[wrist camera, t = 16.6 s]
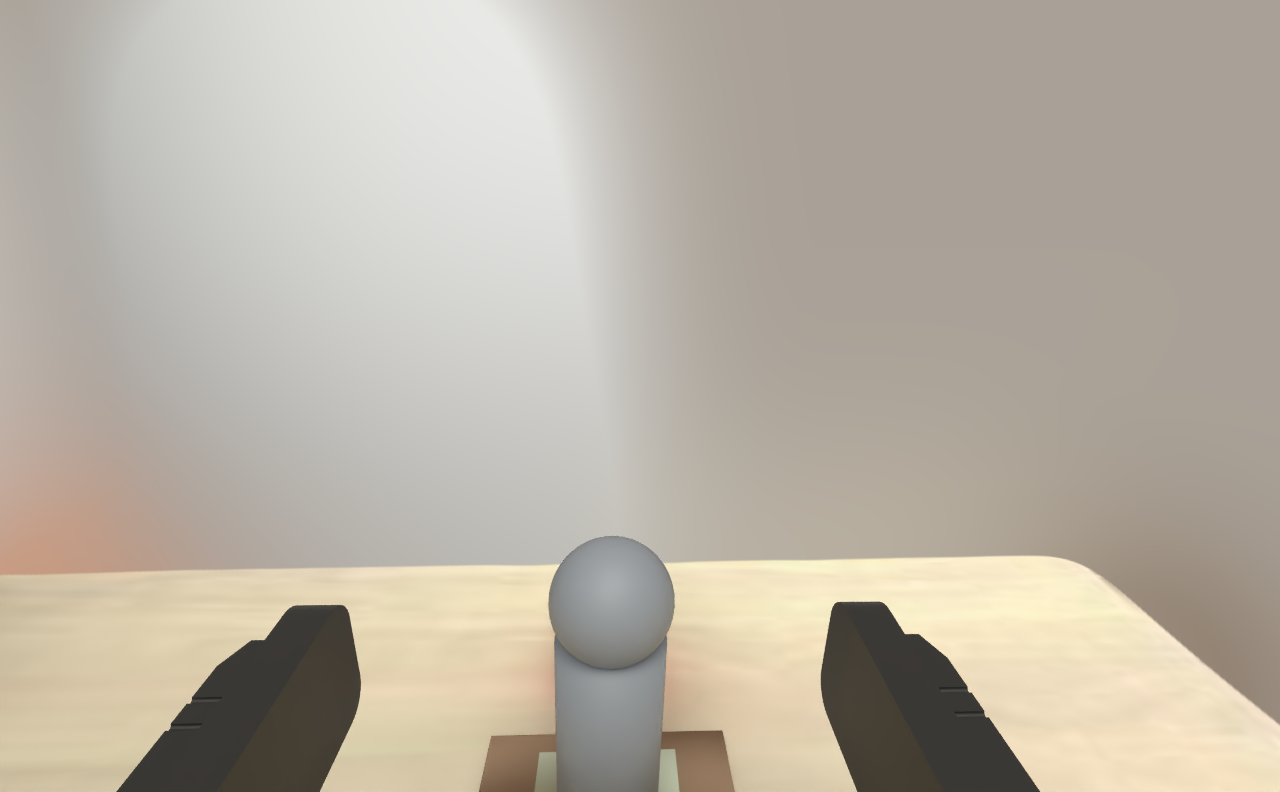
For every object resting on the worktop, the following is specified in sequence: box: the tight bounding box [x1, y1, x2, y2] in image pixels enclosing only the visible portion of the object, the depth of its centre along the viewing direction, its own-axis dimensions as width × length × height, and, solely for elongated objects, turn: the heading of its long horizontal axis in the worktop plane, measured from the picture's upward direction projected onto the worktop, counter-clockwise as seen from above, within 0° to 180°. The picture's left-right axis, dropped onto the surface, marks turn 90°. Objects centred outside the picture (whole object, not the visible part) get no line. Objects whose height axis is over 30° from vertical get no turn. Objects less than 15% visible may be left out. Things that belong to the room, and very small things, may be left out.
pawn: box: [548, 536, 675, 792], centre depth 24 cm, size 5×5×14 cm
